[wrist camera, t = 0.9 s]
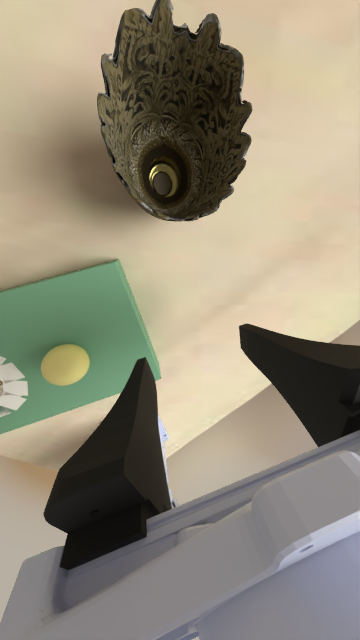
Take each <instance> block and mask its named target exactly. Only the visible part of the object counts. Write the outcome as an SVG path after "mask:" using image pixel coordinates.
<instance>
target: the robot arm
mask: <svg viewBox="0 0 360 640" xmlns="http://www.w3.org/2000/svg"><path fill="white" fill-rule="evenodd" d="M239 330H240V343H241V349H242V350H243V351H244V353H245V354H246V356H247V357H248V358H249V359H250V360H251V362H252V363H253V364H254V365H255V366H256V367H257V368H258V369H259V370H260V371H261V372H262V373H263V374H264V375H265V376H266V377H267V378H268V379H269V380H270V381H271V383H272V384H273V385H274V386H275V387H276V388H277V390H278V391H279V392H280V394H281V395H282V396H283V397H284V399H285V400H286V401H287V403H288V404H289V405H290V407H291V408H292V409H293V411H294V412H295V414H296V415H297V416H298V418H299V419H300V421H301V422H302V423H303V425H304V426H305V428H306V429H307V431H308V432H309V434H310V435H311V437H312V438H313V440H314V441H315V443H316V444H317V446H318V448H316V449H313V450H311V451H309V452H306V453H304V454H301V455H299V456H297V457H294V458H292V459H289V460H287V461H285V462H282V463H280V464H278V465H275V466H273V467H270V468H268V469H266V470H264V471H261V472H259V473H256V474H254V475H251V476H249V477H247V478H244V479H242V480H240V481H237V482H235V483H232V484H230V485H228V486H225V487H223V488H221V489H218V490H216V491H213V492H211V493H209V494H206V495H204V496H201V497H199V498H197V499H194V500H192V501H190V502H187V503H185V504H182V505H180V504H179V502H178V501H177V499H172V495H171V488H168V474H167V465H166V457H165V448H164V441H166V440H168V439H169V436H168V434H167V432H166V430H165V427H164V425H163V423H162V421H161V419H160V417H159V415H158V407H157V390H156V384H155V378H154V375H153V373H152V371H151V368H150V366H149V363H148V361H147V359H146V357H144V358H141V359H137V361H136V363H135V366H134V368H133V370H132V372H131V375H130V377H129V379H128V381H127V383H126V385H125V387H124V389H123V391H122V392H121V394H120V396H119V398H118V399H117V401H116V403H115V404H114V406H113V407H112V409H111V410H110V412H109V413H108V414H107V416H106V417H105V418H104V420H103V421H102V422H101V424H100V425H99V426H98V428H97V429H96V430H95V431H94V432H93V434H92V435H91V436H90V437H89V438H88V439H87V441H86V442H85V443H84V444H83V445H82V446H81V447H80V448H79V449H78V451H77V452H76V453H75V454H74V455H73V456H72V457H71V458H70V459H69V460H68V461H67V462H66V463H65V464H64V465H63V466H62V467H61V468H60V469H59V472H58V474H57V477H56V480H55V482H54V485H53V488H52V491H51V494H50V496H49V499H48V502H47V505H46V508H45V511H44V517H45V520H46V521H47V522H48V523H49V524H50V525H52V526H54V527H56V528H58V529H60V530H62V531H64V532H66V533H68V535H67V539H66V543H65V546H60V547H55V548H52V549H49V550H47V551H45V552H42V553H40V554H37V555H35V556H33V557H30V558H28V559H26V560H25V561H24V562H23V563H22V566H21V568H20V571H19V574H18V577H17V579H16V582H15V585H14V587H13V590H12V593H11V595H10V598H9V601H8V604H7V606H6V609H5V612H4V615H3V617H2V620H1V623H0V640H192V639H194V638H196V637H198V636H199V639H200V640H360V346H355V345H341V344H331V343H324V342H317V341H310V340H305V339H300V338H295V337H291V336H287V335H283V334H280V333H276V332H273V331H270V330H266V329H263V328H260V327H257V326H254V325H250V324H244V325H241V326H239Z"/></svg>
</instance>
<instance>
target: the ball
mask: <svg viewBox="0 0 360 640" xmlns="http://www.w3.org/2000/svg"><path fill="white" fill-rule="evenodd" d="M89 365H90V359H89V355H88V354H87V352H86V351H85V350H84V349H83V348H82V347H80V346H78V345H74V344H64V345H60V346H57V347H55V348H53V349H52V350H50V351H49V352H48V353H47V354H46V355H45V357H44V358H43V360H42V363H41V373H42V375H43V377H44V378H45V379H46V381H48V382H49V383H51V384H54V385H58V386H65V385H70V384H73V383H75V382H77V381H79V380H80V379H81V378H82V377H83V376H84V375H85V374H86V372H87V371H88V368H89Z"/></svg>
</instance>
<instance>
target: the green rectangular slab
mask: <svg viewBox="0 0 360 640" xmlns="http://www.w3.org/2000/svg"><path fill="white" fill-rule="evenodd" d="M64 344H74V345H78V346H80V347H82V348H83V349H84V350H85V351H86V352H87V354H88V355H89V359H90V365H89V368H88V371H87V372H86V374H85V375H84V376H83V377H82V378H81V379H80V380H79V381H77V382H75V383H73V384H70V385H65V386H58V385H54V384H51V383H49V382H48V381H46V379H45V378H44V377H43V375H42V373H41V363H42V360H43V358H44V357H45V355H46V354H47V353H48V352H49V351H50V350H52V349H53V348H55V347H57V346H60V345H64ZM144 357H146V359H147V361H148V363H149V366H150V368H151V371H152V373H153V375H154V378H155V381H156V380H159V379H161V374H160V367H159V362H158V360H157V357H156V354H155V352H154V349H153V347H152V344H151V341H150V339H149V336H148V334H147V331H146V328H145V326H144V323H143V321H142V318H141V315H140V313H139V310H138V308H137V305H136V302H135V300H134V297H133V295H132V292H131V289H130V287H129V284H128V282H127V279H126V276H125V274H124V271H123V269H122V266H121V263H120V261H119V259H117V260H114V261H110V262H106V263H103V264H99V265H95V266H91V267H88V268H84V269H80V270H77V271H73V272H69V273H66V274H62V275H58V276H54V277H51V278H47V279H43V280H40V281H36V282H32V283H29V284H25V285H21V286H18V287H14V288H10V289H6V290H3V291H0V380H1V381H2V383H3V385H1V384H0V434H3V433H6V432H8V431H11V430H14V429H17V428H20V427H23V426H26V425H29V424H32V423H34V422H37V421H40V420H43V419H46V418H49V417H52V416H55V415H58V414H60V413H63V412H66V411H69V410H72V409H75V408H78V407H81V406H84V405H86V404H89V403H92V402H95V401H98V400H101V399H104V398H107V397H110V396H113V395H115V394H118V393H121V392H122V391H123V389H124V387H125V385H126V383H127V381H128V379H129V377H130V375H131V372H132V370H133V368H134V366H135V363H136V361H137V359H141V358H144Z"/></svg>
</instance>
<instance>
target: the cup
mask: <svg viewBox="0 0 360 640" xmlns="http://www.w3.org/2000/svg"><path fill="white" fill-rule="evenodd" d="M171 9H172V10H174V9H173V6H172V3H171V1H170V0H156V2H155V4H154V6H153V9H152V12H151V15H150V16H149V15H147V14H146V13H145V11H143V10H142V9H140V8H133V9H130V10H125V12H124V13H123V15H122V17H121V20H120V24H119V28H118V32H117V36H116V40H115V49H114V54H113V58H112V59H109V57H110V56H111V55H112V54H104V55H102V58H101V68H102V73H103V78H104V83H105V90H106V93H101V92H99V93H98V97H97V107H98V114H99V119H100V120H101V123H102V124H101V132H102V136H103V139H104V142H105V144H106V148H107V151H108V154H109V156H110V158H111V160H112V162H113V164H112V166H113V168H114V170H115V172H116V174H117V176H118V177H119V179H120V180H121V182H122V183H123V185H124V186H125V188H126V189H127V191H128V192H129V194H130V195H131V196H132V198H133V199H134V200H135V201H136V202H137V204H138V205H139V206H140V207H141V208H142V209H144V210H145V211H146V212H147V213H149V214H151V215H152V216H154V217H156V218H159V219H162V220H166V221H193V220H197V219H199V218H201V217H204V216H207V215H210V214H212V213H214V212H215V211H217V210H218V208H219V206H220V203H221V201H222V200H223V199H225V198H227V197H228V196H230V195H231V194H232V193H233V191H234V189H233V185H232V186H230V184H232V183H233V182H234V181H235V180H236V179H237V177H238V175H239V174H240V173H241V171H242V170H243V169H244V167H245V165H246V160H244V158H243V157H244V156H245V155H246V153H247V151H248V148H249V146H250V144H251V137H250V135H248V134H247V133H245V132H242V133H241V130H242V128H243V126H244V124H245V122H246V121H247V119H248V117H249V116H250V114H251V112H252V105H251V103H250V102H247V101H245V100H244V101H242V103H244V104H242V103H241V90H242V86H243V80H244V61H243V56H242V54H241V53H240V52H239V51H238V50H237V49H235V48H233V47H230V46H229V45H224V44H222V43H220V39H221V26H220V23H219V20H218V17H217V15H216V14H213V13H212V14H208V15H207V16H206V17H205V19H204V20H203V21H204V22H203V21H202V23H201V24H200V25H199V28H198V29H197V32H195V33H198V34H194V33H191V32H190V30H189V28H188V26H187V25H186V23H184V24H183V25H182V26H181V27H180V26H179V27H178V26H175V25H173V21H172V11H171ZM202 24H203V26H202ZM201 27H202V28H201ZM200 28H201V30H200ZM199 30H200V31H199ZM160 172H164V173H166V174H167V175H168V176H169V177H170V179H171V184H172V186H171V190H170V192H169V193H168V194H166V195H161V194H159V193H157V191H156V190H155V188H154V184H153V181H154V177H155V175H156V174H158V173H160Z"/></svg>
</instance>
